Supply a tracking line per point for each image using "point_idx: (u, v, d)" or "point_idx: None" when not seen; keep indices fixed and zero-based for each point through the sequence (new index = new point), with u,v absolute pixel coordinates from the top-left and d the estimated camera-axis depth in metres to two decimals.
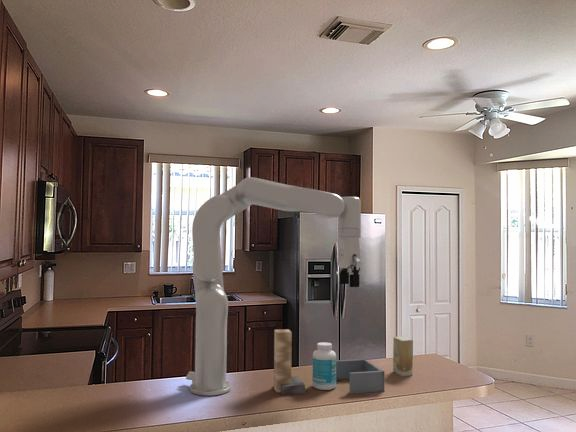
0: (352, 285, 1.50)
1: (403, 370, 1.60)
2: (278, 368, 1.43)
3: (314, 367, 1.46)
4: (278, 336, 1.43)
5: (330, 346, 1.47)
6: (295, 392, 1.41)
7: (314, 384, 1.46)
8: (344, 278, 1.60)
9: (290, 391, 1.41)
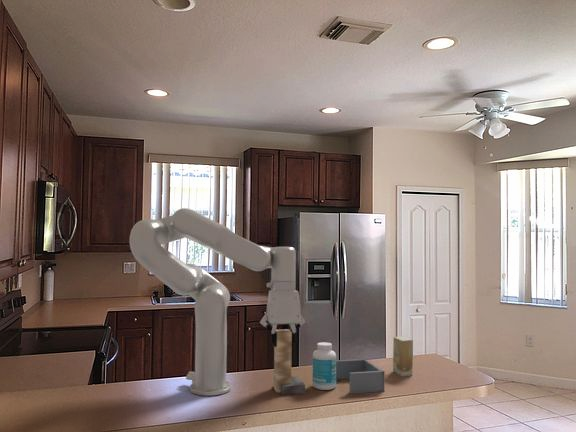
0: None
1: (403, 370, 1.60)
2: (278, 368, 1.43)
3: (314, 367, 1.46)
4: (278, 336, 1.43)
5: (330, 346, 1.47)
6: (295, 392, 1.41)
7: (314, 384, 1.46)
8: None
9: (290, 391, 1.41)
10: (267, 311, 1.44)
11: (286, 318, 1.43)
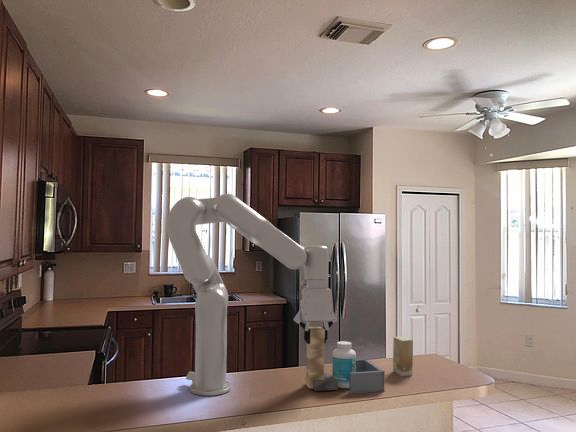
0: None
1: (403, 370, 1.60)
2: (311, 365, 1.45)
3: (334, 366, 1.48)
4: (311, 333, 1.45)
5: (350, 345, 1.49)
6: (328, 388, 1.43)
7: None
8: None
9: (323, 387, 1.43)
10: (301, 308, 1.46)
11: (319, 315, 1.46)
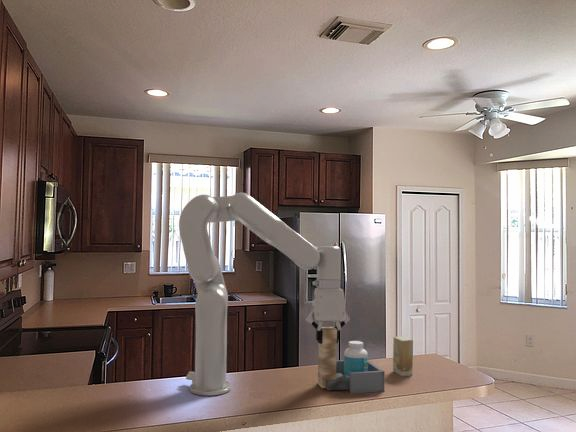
0: None
1: (403, 370, 1.60)
2: (324, 364, 1.46)
3: (346, 365, 1.49)
4: (324, 333, 1.46)
5: (362, 344, 1.49)
6: (340, 388, 1.44)
7: None
8: None
9: (335, 387, 1.44)
10: (313, 309, 1.47)
11: (332, 316, 1.46)
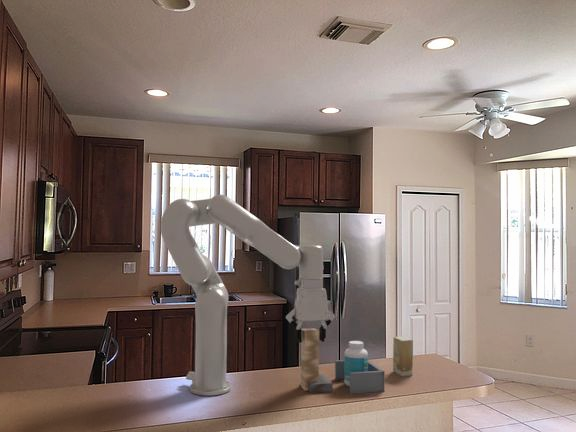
0: None
1: (403, 370, 1.60)
2: (306, 366, 1.45)
3: (346, 365, 1.49)
4: (306, 335, 1.45)
5: (362, 344, 1.49)
6: (323, 390, 1.43)
7: (346, 382, 1.48)
8: None
9: (318, 389, 1.43)
10: (295, 307, 1.46)
11: (314, 315, 1.45)
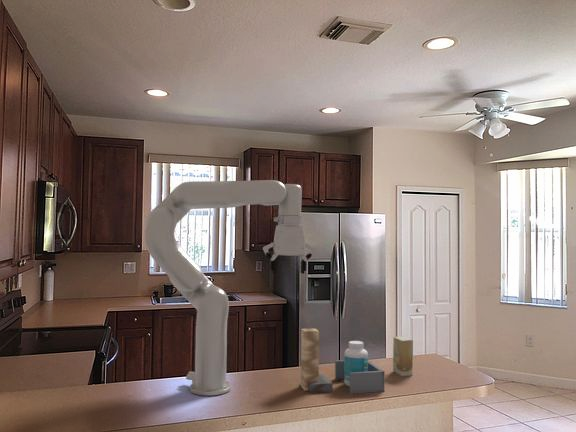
0: (303, 271, 1.55)
1: (403, 370, 1.60)
2: (306, 366, 1.45)
3: (346, 365, 1.49)
4: (306, 335, 1.45)
5: (362, 344, 1.49)
6: (323, 390, 1.43)
7: (346, 382, 1.48)
8: None
9: (318, 389, 1.43)
10: None
11: (291, 250, 1.53)
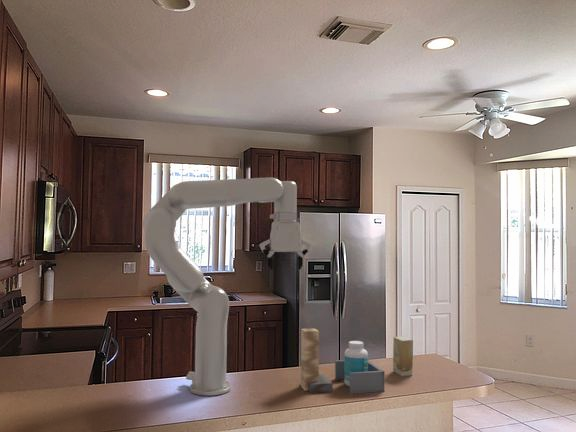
0: None
1: (403, 370, 1.60)
2: (306, 366, 1.45)
3: (346, 365, 1.49)
4: (306, 335, 1.45)
5: (362, 344, 1.49)
6: (323, 390, 1.43)
7: (346, 382, 1.48)
8: None
9: (318, 389, 1.43)
10: (270, 238, 1.55)
11: (288, 246, 1.55)
